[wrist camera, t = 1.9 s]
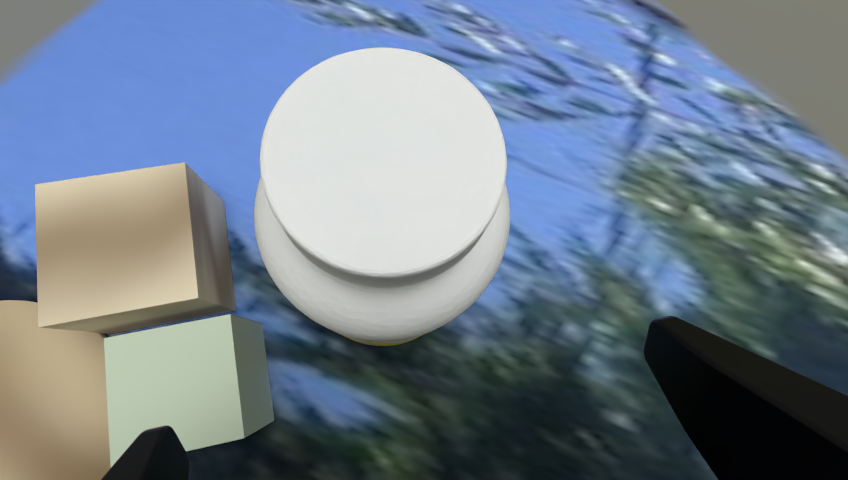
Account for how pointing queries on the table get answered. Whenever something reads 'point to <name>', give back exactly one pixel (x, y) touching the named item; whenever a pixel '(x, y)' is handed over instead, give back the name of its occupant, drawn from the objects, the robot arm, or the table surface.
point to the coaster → (51, 399)
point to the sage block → (188, 382)
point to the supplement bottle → (382, 195)
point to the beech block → (131, 251)
